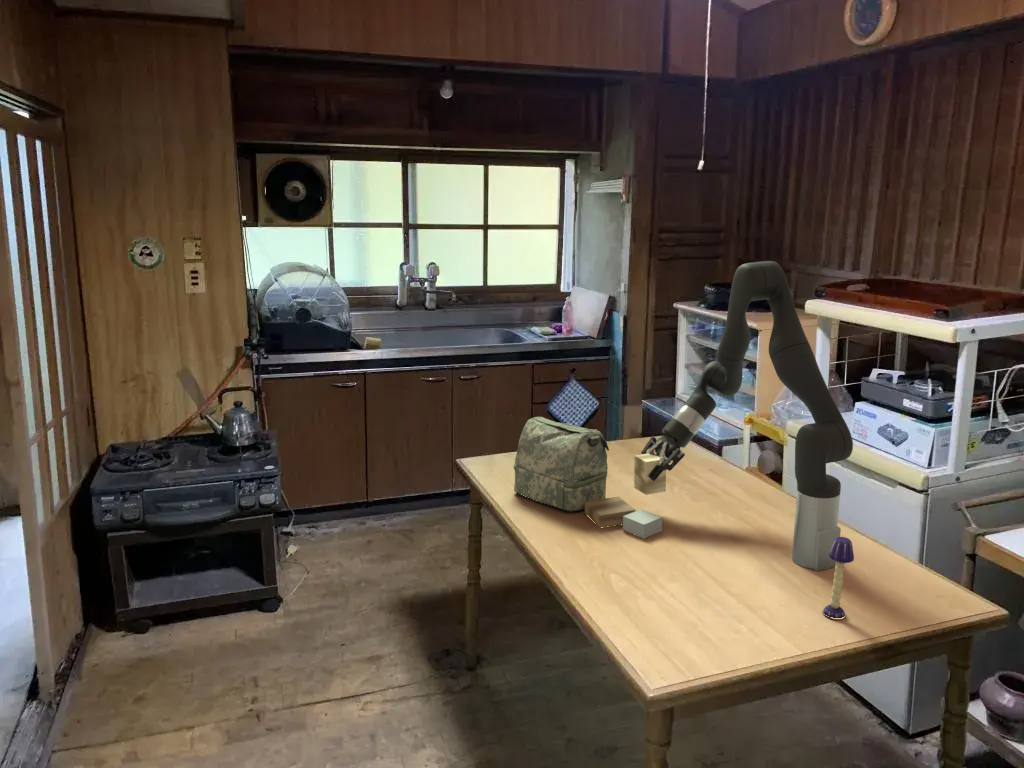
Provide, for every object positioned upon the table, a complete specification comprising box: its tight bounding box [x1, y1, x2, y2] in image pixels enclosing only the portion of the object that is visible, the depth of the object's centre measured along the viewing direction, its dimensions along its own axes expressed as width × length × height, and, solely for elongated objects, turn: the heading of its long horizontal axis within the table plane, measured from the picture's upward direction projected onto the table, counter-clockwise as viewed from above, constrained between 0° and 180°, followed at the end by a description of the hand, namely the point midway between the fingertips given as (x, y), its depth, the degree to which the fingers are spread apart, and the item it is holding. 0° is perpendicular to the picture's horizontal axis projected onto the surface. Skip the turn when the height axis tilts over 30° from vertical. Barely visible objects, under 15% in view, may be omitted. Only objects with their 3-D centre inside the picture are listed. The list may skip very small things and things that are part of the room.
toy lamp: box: [822, 536, 855, 618], centre depth 160 cm, size 5×5×17 cm
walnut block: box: [584, 496, 637, 528], centre depth 211 cm, size 10×10×4 cm
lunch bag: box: [513, 416, 610, 512], centre depth 224 cm, size 26×18×22 cm
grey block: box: [622, 508, 663, 539], centre depth 203 cm, size 7×7×4 cm
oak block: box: [633, 452, 667, 496], centre depth 212 cm, size 6×6×9 cm
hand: (644, 474), depth 211 cm, fingers closed on oak block, 6 cm apart
